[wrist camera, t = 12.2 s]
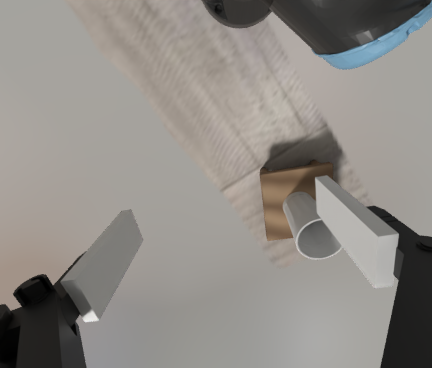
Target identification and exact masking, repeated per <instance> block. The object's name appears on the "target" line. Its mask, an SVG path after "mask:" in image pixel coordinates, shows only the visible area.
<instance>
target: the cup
mask: <svg viewBox="0 0 432 368" xmlns="http://www.w3.org/2000/svg"><path fill="white" fill-rule="evenodd" d="M283 210H284V213H285V215H286V217H287V220H288V223H289V226H290V229H291V231H292V234H293V238H294V241H295V244H296V247H297V249H298V251H299V252H300V253H301V254H302V255H303V256H305V257H307V258H310V259H317V260H318V259H326V258H329V257H331V256H333V255H335V254H337V253H338V252H339V251H340V250H341V249H342V248H343V247H342V245H341V244H340V243H339V241H338V240H337V239H336V237H335V236H334V235H333V233H332V232H331V231H330V230H329V228H328V227H327V226H326V224H325V223H324V222H323V220H322V219H321V218H320V216H319V215H318V214H317V206H316V201H315V200H314V199H313V198H312V197H311V196H310V195H309V194H308V193H305V192H294V193H292V194H290V195H289V196H287V198H286V199H285V200H284V203H283Z"/></svg>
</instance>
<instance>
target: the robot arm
mask: <svg viewBox="0 0 432 368" xmlns="http://www.w3.org/2000/svg"><path fill="white" fill-rule="evenodd" d="M202 1H203V4H204V5H205V7H206V9H207V10H208V12H209V13H210V14H211V15H212V16H213V17H214V18H215V19H216V20H217V21H219V22H220V23H222V24H224V25H226V26H228V27H232V28H247V27H250V26H253V25H256V24H257V23H259V22H261V21H262V20H264V19H265V18H266V17H267V16H268V15H269V14H270V13H271V12H274V13H275V15H277V16H278V17H279V18H280V19H281V20H282V21H283V22H284V23H285V24H286V25H287V26H288V27H289V28H290V29H292V30H293V31H294V32H295V33H296V34H297V35H298V36H299V37H300V38H301V39H302V40H303V41H304V42H305V43H306V44H307V45H309V46H310V47H311V48H312V51H313V52H314V54H315V55H318V56H319V57H322V58H323V59H324V60H326V61H327V62H328V63H329V64H330V65H332V66H333V67H335V68H338V69H353V68H357V67H360V66H363V65H365V64H367V63H369V62H372V61H374V60H376V59H377V58H379V57H381V56H383V55H384V54H386V53H388V52H389V51H391V50H393V49H394V48H395V47H397V46H398V45H400V44H401V43H403V42H404V41H405V40H406V39H407V38H408V35H409V34H410V33H412V32H414V31H416V30H418V29H420V28H421V27H422V26H423V25H424V24H425V23H426V22H428V21H429V20H430V19H431V17H432V0H202ZM315 184H316V206H317V214H318V215H319V216H320V218H321V219H322V220H323V222H324V223H325V224H326V226H327V227H328V228H329V230H330V231H331V232H332V233H333V235H334V236H335V237H336V239H337V240H338V241H339V243H340V244H341V245H342V247H343V248H344V249H345V251H346V252H347V253H348V254H349V256H350V257H351V258H352V260H353V261H354V262H355V264H356V265H357V266H358V268H359V269H360V270H361V272H362V273H363V274H364V275H365V277H366V278H367V279H368V281H369V282H370V283H371V285H372V286H373V287H374V288H381V287H391V286H393V282H394V276H395V277H396V278H397V279H398V280H399V282H398V286H397V291H396V296H395V300H394V305H393V310H392V315H391V320H390V324H389V329H388V334H387V339H386V343H385V348H384V353H383V358H382V362H381V368H432V237H429V236H420V235H418V234H417V233H415V232H414V231H413V230H411V229H410V228H409V227H407V226H406V225H405V224H403V223H401V222H400V221H398V219H396V218H395V217H394V216H392V215H391V214H390V213H388V212H387V211H385V210H384V209H381V208H378V207H376V206H369V207H365V206H364V205H363V204H362V203H360V202H359V201H358V200H357V199H356V198H354V197H353V196H352V195H351V194H349V193H348V192H347V191H346V190H344V189H343V188H342V187H341V186H340V185H338V184H337V183H336V182H335V181H333V180H332V179H331V178H330V177H328V176H327V175H326V176H320V177H315ZM142 242H143V238H142V235H141V233H140V230H139V228H138V225H137V223H136V220H135V218H134V215H133V213H132V210H131V209H130V210H125V211H121V212H120V213H119V215H118V216H117V217H116V218H115V219H114V220H113V221H112V223H111V224H110V225H109V226H108V227H107V228H106V229H105V231H104V232H103V233H102V234H101V235H100V236H99V238H98V239H97V240H96V241H95V242H94V243H93V244H92V246H91V247H90V248H89V249H88V251H86V252H85V253H84V254H82V255H81V256H79V257H78V258H77V260H76V261H75V262H74V263H73V265H71V266H70V267H69V268H68V270H67V271H66V272H65V273H64V274H63V275H62V276H61V278H60V279H59V280H58V281H57V282H56V283H55V284H54V285H52V283H51V282H50V280H49V279H48V277H47V275H44V274H42V275H37V276H35V277H32V278H31V279H29V280H27V281H26V282H24V283H22V284H21V285H20V286H19V287H18V288H17V289H16V290H15V292H14V293H13V295H14V296H15V297H16V299H17V300H18V302H19V303H20V304H21V306H22V307H20V308H17V309H15V310H12V311H10V309H9V308H8V307H7V306H6V305H5V304H2V305H0V368H86V363H85V357H84V352H83V347H82V342H81V336H80V331H79V326H78V324H77V323H76V319H77V318H78V316H79V315H81V316H82V318H83V319H84V321H85V322H92V321H99V320H100V318H101V316H102V314H103V312H104V311H105V309H106V307H107V305H108V303H109V302H110V300H111V298H112V296H113V294H114V292H115V291H116V289H117V287H118V285H119V283H120V282H121V280H122V278H123V276H124V274H125V272H126V271H127V269H128V267H129V265H130V263H131V262H132V260H133V258H134V256H135V254H136V252H137V251H138V249H139V247H140V245H141V243H142Z"/></svg>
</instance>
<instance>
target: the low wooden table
mask: <svg viewBox="0 0 432 368" xmlns="http://www.w3.org/2000/svg"><path fill="white" fill-rule="evenodd" d="M326 175H327V176H328V177H330V178H331V179H332V180H333V164H332V163H330V162H326V163H319V162H318V161H316V160H312V161H311V162H310V164H309V165H306V166H300V167H293V168H287V169H280V170H274V171H268V169H267V168H262V169H261V170H260V181H261V190H262V199H263V209H264V218H265V227H266V236H267V240H268V241H271V240H279V239H287V238H293V234H292V231H291V229H290V226H289V223H288V220H287V217H286V215H285V213H284V210H283V203H284V200H285V199H286V198H287V196H289V195H290V194H292V193H294V192H305V193H308V194H309V195H310V196H311V197H312V198H313V199H314V200H315V201H316V184H315V177H320V176H326Z"/></svg>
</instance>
